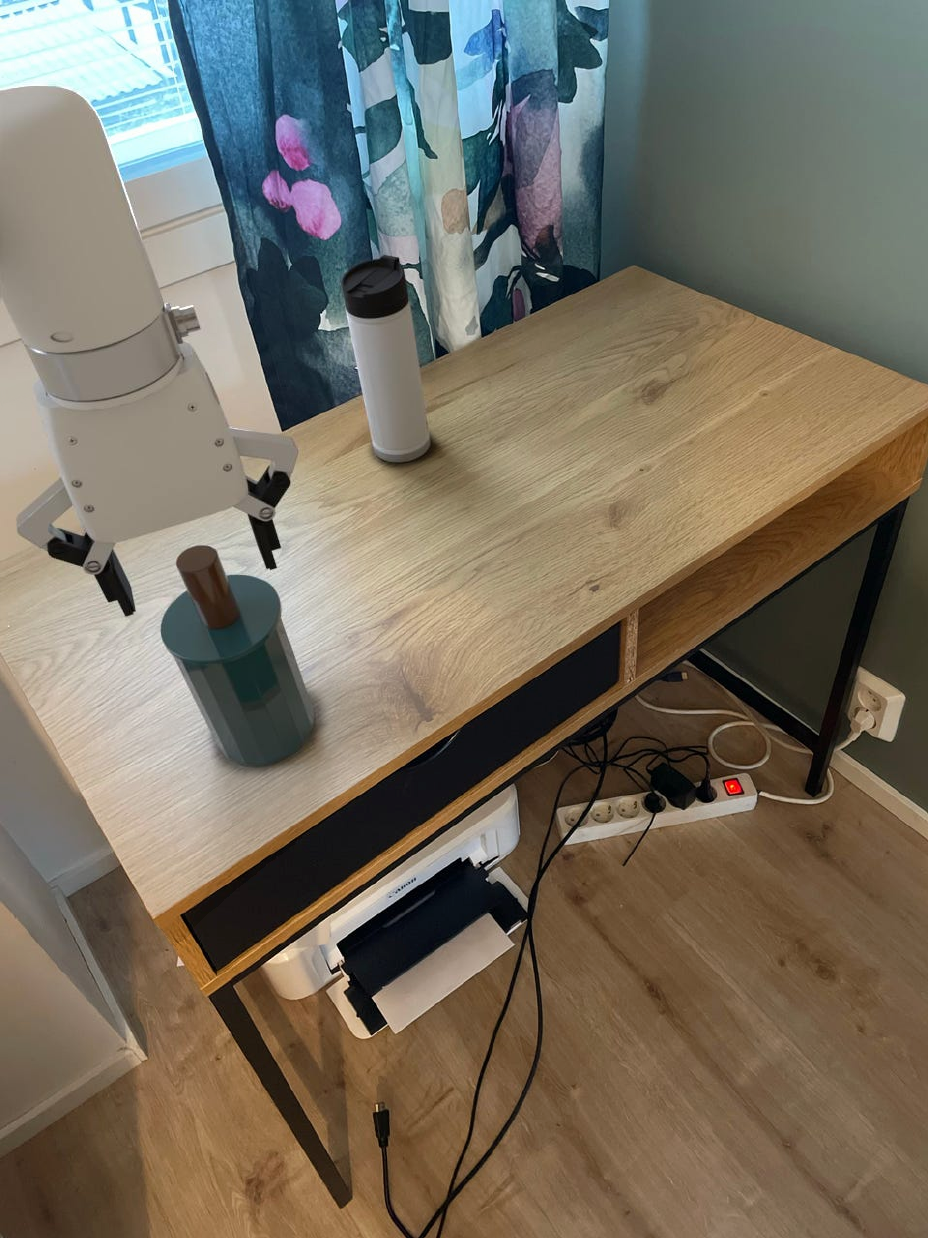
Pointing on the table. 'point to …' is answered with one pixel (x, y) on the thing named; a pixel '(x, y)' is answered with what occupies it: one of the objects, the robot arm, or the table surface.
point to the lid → (217, 611)
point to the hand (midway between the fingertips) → (199, 579)
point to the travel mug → (387, 357)
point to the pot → (254, 702)
